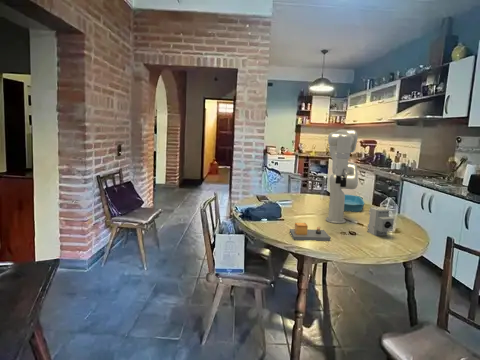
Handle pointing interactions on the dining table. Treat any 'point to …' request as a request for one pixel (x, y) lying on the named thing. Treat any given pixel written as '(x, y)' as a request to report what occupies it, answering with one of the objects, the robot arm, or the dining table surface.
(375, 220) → the circuit breaker
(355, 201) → the casserole dish
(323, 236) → the plate
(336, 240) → the dining table surface
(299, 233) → the orange panelled cube
